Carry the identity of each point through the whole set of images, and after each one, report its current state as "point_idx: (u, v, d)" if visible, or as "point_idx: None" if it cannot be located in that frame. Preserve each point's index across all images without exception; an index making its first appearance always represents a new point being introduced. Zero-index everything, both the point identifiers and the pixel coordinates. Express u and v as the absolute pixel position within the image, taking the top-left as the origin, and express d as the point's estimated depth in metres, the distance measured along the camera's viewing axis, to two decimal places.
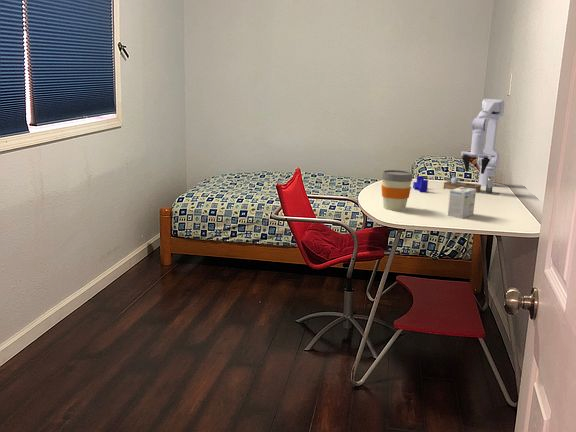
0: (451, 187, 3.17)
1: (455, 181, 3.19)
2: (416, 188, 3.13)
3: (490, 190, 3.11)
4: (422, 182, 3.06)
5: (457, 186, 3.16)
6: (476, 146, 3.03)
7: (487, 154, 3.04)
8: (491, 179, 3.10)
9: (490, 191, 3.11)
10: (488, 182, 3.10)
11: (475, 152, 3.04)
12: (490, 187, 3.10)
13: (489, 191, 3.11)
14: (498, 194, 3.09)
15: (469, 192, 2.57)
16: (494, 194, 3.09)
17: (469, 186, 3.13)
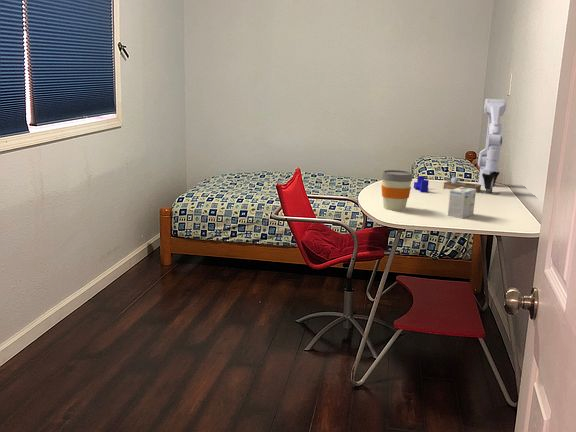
0: (451, 187, 3.17)
1: (455, 181, 3.19)
2: (417, 188, 3.13)
3: (490, 190, 3.11)
4: (423, 182, 3.06)
5: (457, 186, 3.16)
6: (486, 160, 3.10)
7: (488, 169, 3.06)
8: None
9: (490, 191, 3.11)
10: None
11: (485, 166, 3.11)
12: (490, 187, 3.10)
13: (489, 191, 3.11)
14: (498, 194, 3.09)
15: (469, 192, 2.57)
16: (494, 194, 3.09)
17: (469, 186, 3.13)
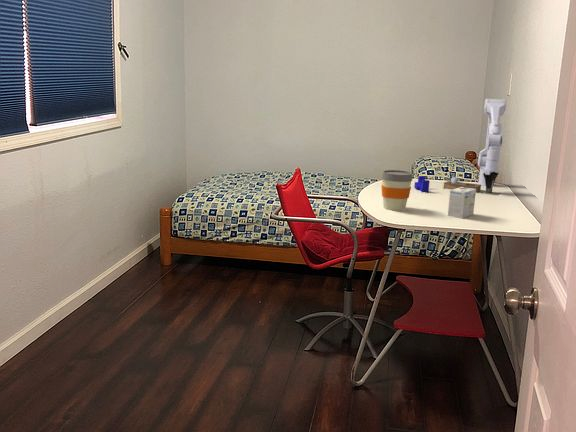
0: (451, 187, 3.17)
1: (455, 181, 3.19)
2: (417, 188, 3.13)
3: (490, 190, 3.11)
4: (424, 182, 3.06)
5: (457, 186, 3.16)
6: (486, 160, 3.10)
7: (488, 170, 3.06)
8: None
9: (490, 191, 3.11)
10: None
11: (485, 167, 3.11)
12: None
13: (489, 191, 3.11)
14: (498, 194, 3.09)
15: (469, 192, 2.57)
16: (494, 194, 3.09)
17: (469, 186, 3.13)
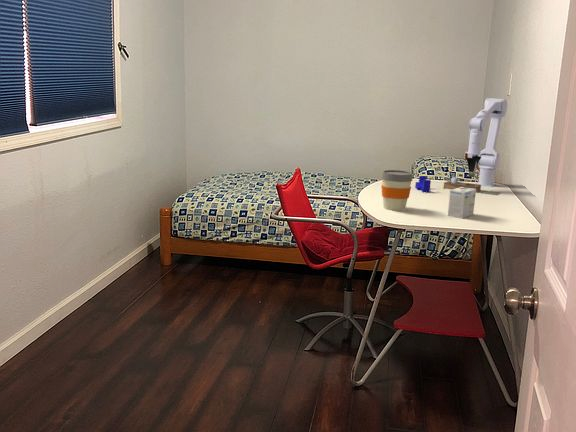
0: (451, 187, 3.17)
1: (455, 181, 3.19)
2: (418, 188, 3.13)
3: (473, 174, 3.14)
4: (425, 182, 3.07)
5: (457, 186, 3.16)
6: None
7: (471, 153, 3.08)
8: None
9: (473, 175, 3.14)
10: None
11: (468, 150, 3.14)
12: None
13: (472, 175, 3.14)
14: (498, 194, 3.09)
15: (469, 192, 2.57)
16: (494, 194, 3.09)
17: (469, 186, 3.13)
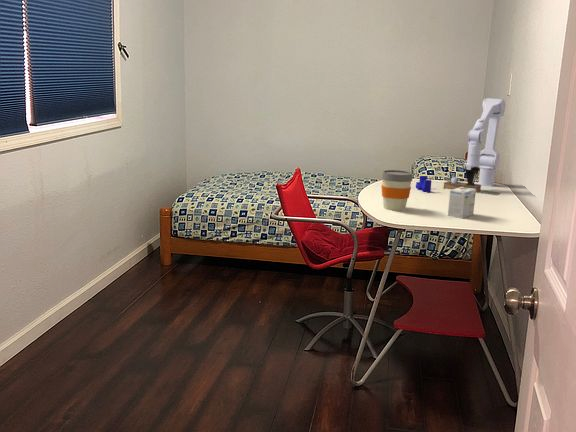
0: (451, 187, 3.17)
1: (455, 181, 3.19)
2: (419, 188, 3.13)
3: (472, 185, 3.15)
4: (426, 182, 3.07)
5: (457, 186, 3.16)
6: None
7: (469, 165, 3.10)
8: None
9: None
10: None
11: (467, 162, 3.15)
12: None
13: None
14: (498, 194, 3.09)
15: (469, 192, 2.57)
16: (494, 194, 3.09)
17: (469, 186, 3.13)
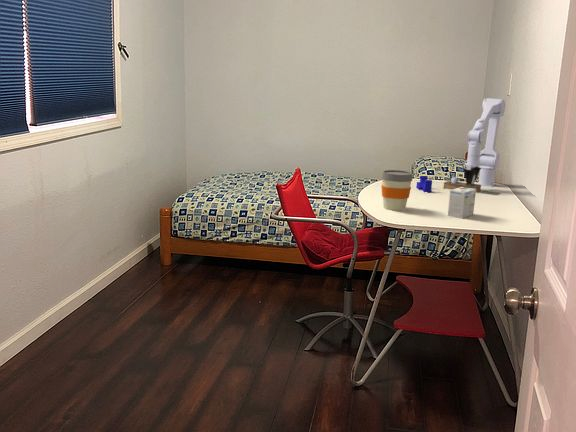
0: (451, 187, 3.17)
1: (455, 181, 3.19)
2: (420, 188, 3.14)
3: None
4: (426, 182, 3.07)
5: (457, 186, 3.16)
6: None
7: (469, 165, 3.10)
8: None
9: None
10: None
11: (467, 162, 3.15)
12: (471, 185, 3.15)
13: None
14: (498, 194, 3.09)
15: (469, 192, 2.57)
16: (494, 194, 3.09)
17: (469, 186, 3.13)
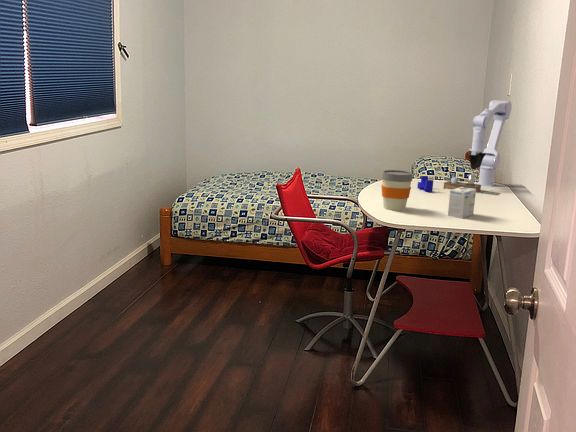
0: (451, 187, 3.17)
1: (455, 181, 3.19)
2: (421, 188, 3.14)
3: None
4: (427, 182, 3.07)
5: (457, 186, 3.16)
6: (472, 141, 3.18)
7: (474, 150, 3.13)
8: (472, 177, 3.14)
9: None
10: (469, 180, 3.15)
11: None
12: (471, 185, 3.15)
13: None
14: (498, 194, 3.09)
15: (469, 192, 2.57)
16: (494, 194, 3.09)
17: (469, 186, 3.13)
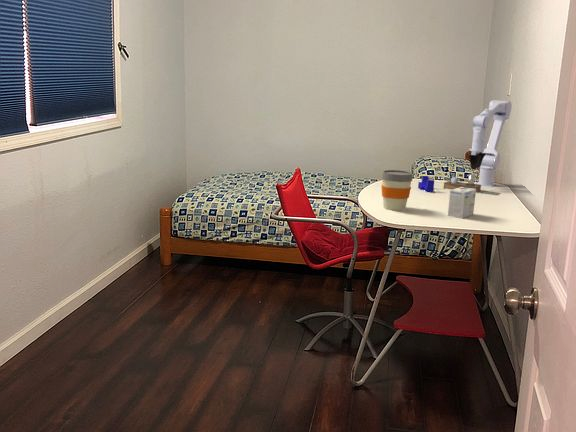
0: (451, 187, 3.17)
1: (455, 181, 3.19)
2: (422, 188, 3.14)
3: None
4: (428, 182, 3.07)
5: (457, 186, 3.16)
6: (472, 141, 3.18)
7: (474, 150, 3.13)
8: (472, 177, 3.14)
9: None
10: (469, 180, 3.15)
11: None
12: (471, 185, 3.15)
13: None
14: (498, 194, 3.09)
15: (469, 192, 2.57)
16: (494, 194, 3.09)
17: (469, 186, 3.13)
